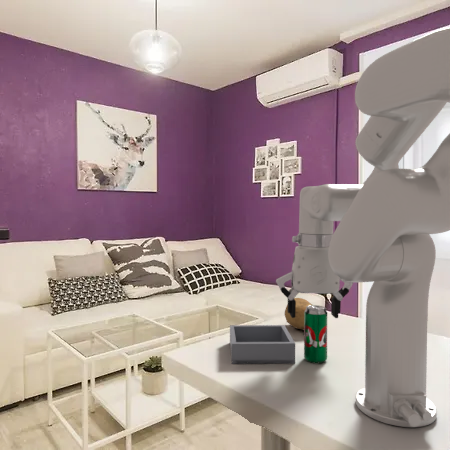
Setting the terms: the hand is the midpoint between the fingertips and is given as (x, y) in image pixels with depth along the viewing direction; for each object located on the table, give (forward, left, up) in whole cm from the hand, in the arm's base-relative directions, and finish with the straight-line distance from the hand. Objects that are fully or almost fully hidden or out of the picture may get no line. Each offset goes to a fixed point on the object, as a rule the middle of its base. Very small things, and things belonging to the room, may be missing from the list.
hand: (313, 316), depth 89 cm
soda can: (-1, 0, -10) cm, 10 cm away
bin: (+4, +12, -10) cm, 16 cm away
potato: (+23, -2, -10) cm, 25 cm away
